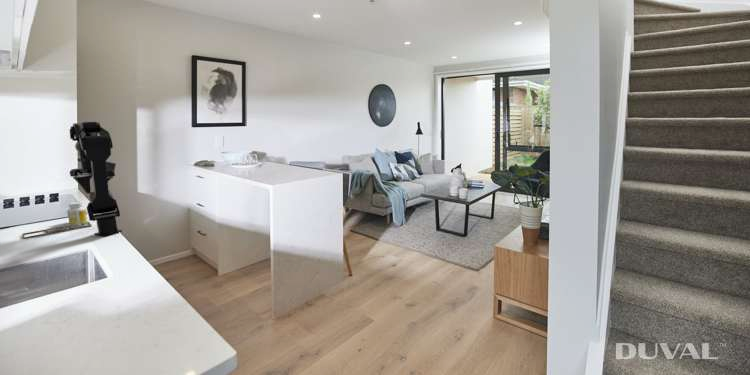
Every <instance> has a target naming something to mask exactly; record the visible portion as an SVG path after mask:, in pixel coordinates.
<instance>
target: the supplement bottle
mask: <svg viewBox="0 0 750 375" xmlns="http://www.w3.org/2000/svg"><path fill="white" fill-rule="evenodd" d="M68 207H69V208H68V210H67V211H68V213H67V216H68V215H69V218H68V221H69V220H70V222H69V225H71V227H72V228H77V227H83V226H86V225H87V222H88V220H87V214H86V209H85V207H83V202H82V201H75V202H71V203H68Z"/></svg>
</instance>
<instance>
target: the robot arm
mask: <svg viewBox="0 0 750 375" xmlns="http://www.w3.org/2000/svg"><path fill="white" fill-rule="evenodd" d="M69 138H70V140H72V141H74V142H75V145H74V147H75V150H76V151H77V152H78V155H79V158H77V161H78V162H80V164H81V167H79V168H73V169H72V168H71V169H70V171H69V176H70V177H72V179H74V181H75V182H77V183H78V185H79V186H80V187H81V188H82V189H83V190H84V191H85V193H86V194H89V198H88V199H89V202H87V206H86V211H87V214H88V218H89V222H90V221H92V222H94V221H95V222H96V227H97V232H94V234H93V235H95V236H99V237H108V236H111V235H114V234H117V233H121V232H123V229H118V224H117V220H116V218H117V217H118V218H119V217H121V213H120V209H119V206H118V203H117V200H116V198H114V196H113V194H112V192H111V191H110V190H109V181H110V180H111V179H113V178H114V177H115V176H116V174H115V172H116V171H115V169H116V166H117V164H116V163H115V162H110V161H107V160H108V159H110V157H111V155H112V149H113V148H114V146H113V141H112V138H111V135H110V132H109V131H108V130H106V128H105V129H104V127H101V124H100V122H98V121H83V122H80V123H79V122H78V123H77V122H76V123H72V125H71V126H70V128H69ZM91 179H92V183H93V191H91Z"/></svg>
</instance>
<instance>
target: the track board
mask: <svg viewBox="0 0 750 375" xmlns="http://www.w3.org/2000/svg"><path fill="white" fill-rule="evenodd" d="M92 225H93V224H91V223H90V221H87V225H86V226H83V227H77V228H72V227H71V225H70V224H67V225H63V226H56V227H53V228H52V227H51V228H46V229H41V230H35V231H30V232H23V233H22V238H23V240H25V239H30V238H36V237H41V236H47V235H52V234H53V235H54V234H58V233H65V232H68V231H74V229H75V230H79V229H83V228H90V227H92ZM40 232H42V233H40ZM43 232H45V233H43ZM36 233H40V234H36ZM30 234H34V235H30ZM25 235H28V236H25ZM29 235H30V236H29Z"/></svg>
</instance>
